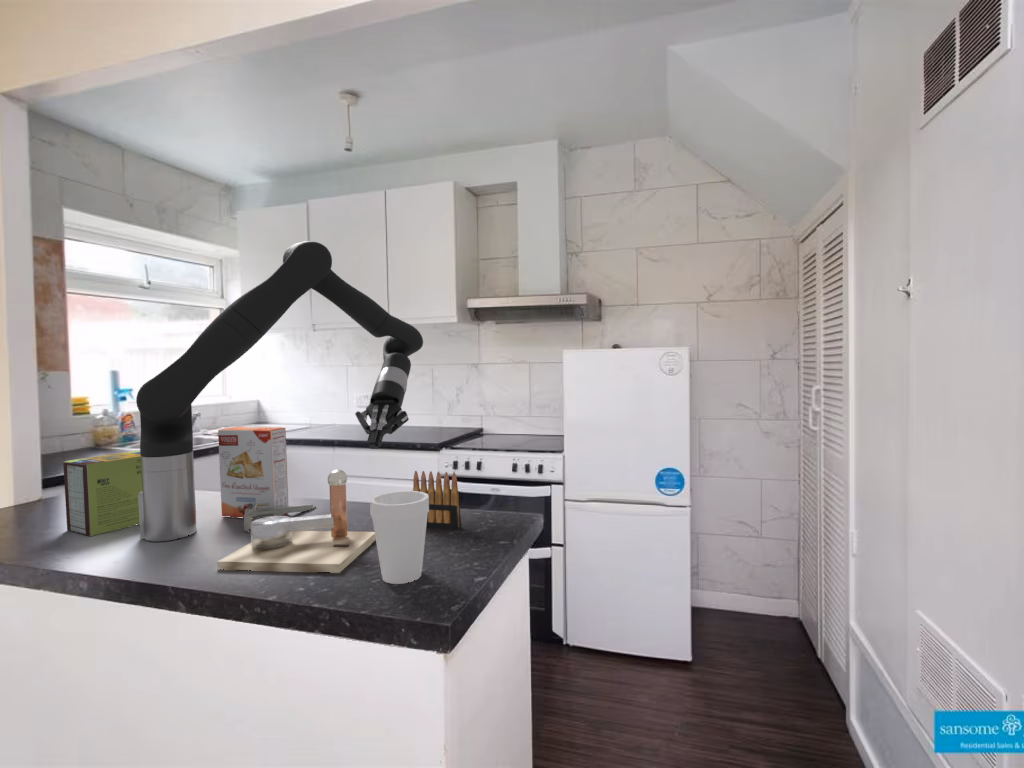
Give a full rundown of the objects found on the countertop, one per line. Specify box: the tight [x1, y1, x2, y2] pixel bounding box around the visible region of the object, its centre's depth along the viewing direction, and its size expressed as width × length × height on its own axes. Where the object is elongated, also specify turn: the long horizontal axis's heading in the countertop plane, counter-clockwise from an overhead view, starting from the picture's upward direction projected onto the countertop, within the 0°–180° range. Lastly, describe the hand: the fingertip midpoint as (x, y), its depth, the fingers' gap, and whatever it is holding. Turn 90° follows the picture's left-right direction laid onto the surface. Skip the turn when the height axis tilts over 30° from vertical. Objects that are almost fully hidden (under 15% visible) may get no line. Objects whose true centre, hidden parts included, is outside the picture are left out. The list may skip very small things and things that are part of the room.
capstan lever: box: [250, 469, 348, 549], centre depth 100 cm, size 17×7×13 cm, turn 106°
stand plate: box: [216, 530, 376, 574], centre depth 98 cm, size 22×17×2 cm
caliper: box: [243, 503, 317, 532], centre depth 121 cm, size 20×1×6 cm, turn 158°
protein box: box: [62, 450, 142, 537], centre depth 120 cm, size 10×15×16 cm
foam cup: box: [369, 490, 429, 585], centre depth 87 cm, size 10×9×13 cm
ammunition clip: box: [412, 470, 462, 531], centre depth 113 cm, size 11×2×12 cm, turn 74°
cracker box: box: [217, 426, 289, 518], centre depth 124 cm, size 14×6×21 cm, turn 77°
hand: (373, 446), depth 118 cm, fingers closed
